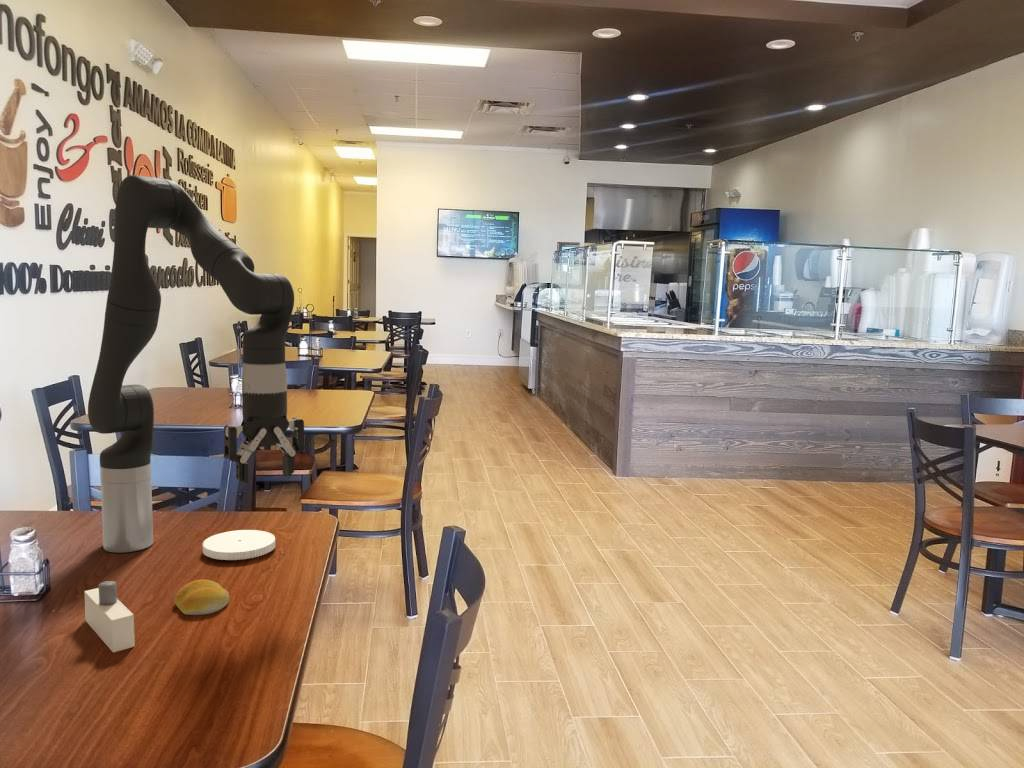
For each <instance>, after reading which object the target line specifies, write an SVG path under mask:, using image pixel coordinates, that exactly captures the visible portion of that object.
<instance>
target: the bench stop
mask: <svg viewBox="0 0 1024 768" xmlns="http://www.w3.org/2000/svg"><path fill="white" fill-rule="evenodd" d="M83 592H84V594H83V595H84V613H85V615H84V617H85V618H84V619H85V622H86V623H87V624H88V625H89V627H90V628H91V629H92V630H93V631H94V632H95V634H96V635H97V636H98V637H99V638H100V640H102V641H103V642H104V644H105V645H106V646H107V647H108V649H109V650H110V651H111V652H112V653H117V652H120V651H124V650H127V649H130V648H134V647H136V644H135V643H136V641H135V638H136V637H135V617H134V616H135V615H134V613H133V612H132V611H131V610H129V608H128V607H126V606H125V605H124V604H123V603H122V602H121V601H120V599H118V597H117V596H118V595H117V593H118V592H117V581H114V580H106V581H102V582H101V583H99V584H98V587H97V588H93V589H87V590H84V591H83Z"/></svg>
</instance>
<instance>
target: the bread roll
mask: <svg viewBox="0 0 1024 768" xmlns="http://www.w3.org/2000/svg"><path fill="white" fill-rule="evenodd" d="M229 601H230V594H229V592H228V590H226V588H223V586H222V585H221V584H219V583H217V582H216V581H213V580H212V579H211V580H210V579H205V578H204V579H196V580H192V581H190V582H188V583H187V584H185V585H184V586H182V587H181V588H180V589H179V590H178V591H177V592H176V594H175V596H174V603H175V605H176V607H177V608H178V609H179V610H180V611H181V613H183V614H184V615H189V616H201V615H209V614H214V613H216V612H218V611H220V610H222V609H224V607H226V606H227V605H228V603H229Z"/></svg>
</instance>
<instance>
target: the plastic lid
mask: <svg viewBox="0 0 1024 768" xmlns="http://www.w3.org/2000/svg"><path fill="white" fill-rule="evenodd" d="M275 548H276V537H275V535H274V534H273V533H271V532H268V531H264V530H259V529H236V530H230V531H225V532H221V533H216V534H214V535H211V536H209V537H207V538H206V539H204V540H203V542H202V554H203V555H204V556H206V557H209V558H211V559H214V560H221V561H223V560H225V561H237V560H239V561H240V560H247V559H253V558H256V557H257V558H258V557H261V556H264V555H267V554H268V553H270V552H272V551H273V550H274V549H275Z"/></svg>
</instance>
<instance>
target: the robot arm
mask: <svg viewBox="0 0 1024 768" xmlns="http://www.w3.org/2000/svg"><path fill="white" fill-rule="evenodd" d="M114 211H115V213H114V217H115V218H114V243H113V245H114V246H113V257H112V264H111V265H112V266H111V273H110V280H109V288H108V293H107V297H106V304H105V312H104V323H103V331H102V338H101V344H100V349H99V350H100V351H99V355H98V360H97V365H96V368H95V371H94V372H95V373H94V377H93V381H92V384H91V388H90V392H89V397H88V403H87V416H88V422H89V424H90V425H89V426H90V427H91V429H93V430H94V431H95V432H96V433H98V434H101V435H102V434H103V435H107V434H116V433H122V434H121V437H120V438H118V439H117V441H115V442H114V443H113V444H112V445H109V446H107V447H105V448H104V449H103V450H102V451H100V453H99V471H100V473H99V475H100V493H101V494H100V496H101V499H100V500H101V520H102V522H101V523H102V524H101V525H102V546H103V550H104V551H106V552H110V553H130V552H136V551H141V550H144V549H146V548H149V547H150V546H152V545H153V543H154V530H153V529H154V527H153V525H154V521H153V495H152V494H153V493H152V492H153V491H152V465H151V462H152V460H151V459H152V458H151V456H152V453H153V448H154V427H155V426H154V421H155V420H154V419H155V412H154V411H155V409H154V401H153V397H152V394H151V393H150V391H149V389H148V388H147V387H145V385H142V384H126V385H123V382H124V379H125V377H126V374H127V372H128V371H129V368H130V366H131V365H132V364H133V362H134V361H135V359H136V358H137V357H138V356H139V355H140V353H141V352H142V351H143V350H144V349H145V348H146V346H147V345H148V344H149V342H150V341H151V340H152V339H153V337H154V335H155V333H156V331H157V328H158V325H159V324H158V323H159V318H160V310H161V304H162V294H161V291H160V288H159V285H158V283H157V281H156V279H155V277H154V274H153V273H152V270H151V268H150V266H149V263H148V260H147V256H146V242H147V241H146V240H147V233H148V230H149V229H164V230H165V229H170V230H173V231H175V232H176V233H179V234H181V235H182V236H183V237H185V238H186V239H187V240H188V242H189V248H190V252H191V255H192V257H193V260H195V263H197V265H199V267H200V268H201V269H202V270H204V271H205V272H206V273H207V274H208V275H209V277H212V278H213V279H214V280H215V281H216V282H217V283H219V285H220V287H221V288H222V291H223V292H224V294H225V295H226V296H227V298H228V300H229V302H230V303H231V304H232V305H233V307H235V309H237V310H239V311H240V312H242V313H244V314H247V315H260V318H259V321H258V324H257V325H256V326H254V327H252V328H250V329H247V330H246V331H245V332H244V333H243V335H242V370H241V409H242V410H241V413H242V421H241V424H239V425H236V424H235V425H231V424H226V425H225V426H224V427H223V457H224V459H225V460H228V461H231V462H234V463H235V478H236V480H237V481H239V483H240V484H242V485H247V484H249V463H248V462H247V461H248V460H249V458H250V456H251V455H252V454H253V453H255V451H256V449H257V448H265V447H266V446H272V447H273V446H277V447H279V449H280V450H281V451H282V453H283V455H282V457H281V460H282V475H283V477H286V478H290V477H292V476H293V473H294V472H295V455H296V454H298V453H300V452H301V453H302V452H304V451H305V449H306V448H305V420H304V419H301V418H299V417H293V418H291V419H288V418H287V414H288V374H287V368H286V367H287V366H286V337H287V333H288V332H289V326H290V322H291V319H292V315H293V310H294V305H295V291H294V289H293V286H292V283H291V281H290V280H289V279H288V278H287V277H286V276H284V275H282V274H279V273H263V272H262V273H259V272H255V264H254V261H253V259H252V258H251V257H250V255H248V254H247V252H245V251H244V250H243V249H242V248H240V247H239V246H238V245H237V244H235V243H234V242H233V241H232V240H231V239H229V238H228V237H227V236H225V234H224V233H222V232H221V231H220V229H218V228H217V227H216V226H215V225H214V224H213V222H212V221H211V220H210V219H209V218H208V217H207V215H206V214H205V213H204V212H203V211H202V209H201V208H200V207H199V206H198V204H197V203H196V202H195V201H194V200H193V198H192V197H191V196H190V194H189V193H188V192H187V191H186V190H185V189H184V188H183V187H182V186H181V185H179V183H177V182H176V181H174V180H171V179H167V178H162V177H153V176H146V175H140V174H139V175H138V174H131V175H128V176H126V177H125V178H124V179H123V180H122V181H121V182H120V185H119V186H118V189H117V193H116V199H115V210H114ZM288 429H289V430H290V431H291V442H290V441H289V440H288V438H287V436H285V434H286V432H287V430H288ZM241 433H242V434H243V435H244V437H243V440H241V443H240V444H239V448H238V447H237V446H238V443H237V441H238V438H240V435H241Z"/></svg>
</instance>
